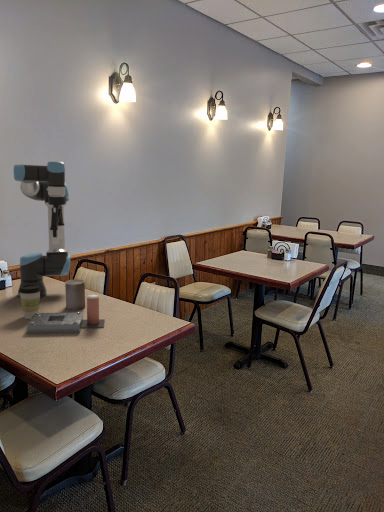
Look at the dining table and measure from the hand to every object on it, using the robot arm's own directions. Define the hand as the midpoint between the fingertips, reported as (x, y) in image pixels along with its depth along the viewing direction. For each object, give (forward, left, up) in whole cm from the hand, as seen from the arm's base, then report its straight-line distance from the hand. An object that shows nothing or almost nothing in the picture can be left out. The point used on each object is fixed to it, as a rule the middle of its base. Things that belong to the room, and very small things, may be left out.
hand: (57, 241), depth 192 cm
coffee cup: (+1, -13, -37) cm, 39 cm away
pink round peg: (+12, +17, -36) cm, 42 cm away
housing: (+15, +1, -37) cm, 39 cm away
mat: (+12, +17, -37) cm, 42 cm away
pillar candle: (-13, +6, -37) cm, 40 cm away
